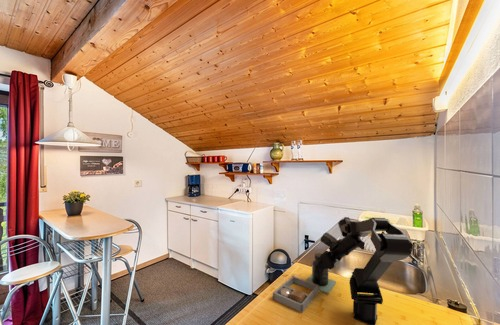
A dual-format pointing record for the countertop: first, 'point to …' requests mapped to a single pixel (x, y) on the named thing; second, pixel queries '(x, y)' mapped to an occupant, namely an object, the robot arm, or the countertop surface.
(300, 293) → the walnut block
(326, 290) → the rubber mat
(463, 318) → the countertop surface
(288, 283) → the parts organiser
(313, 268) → the supplement bottle
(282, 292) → the silver round piece
